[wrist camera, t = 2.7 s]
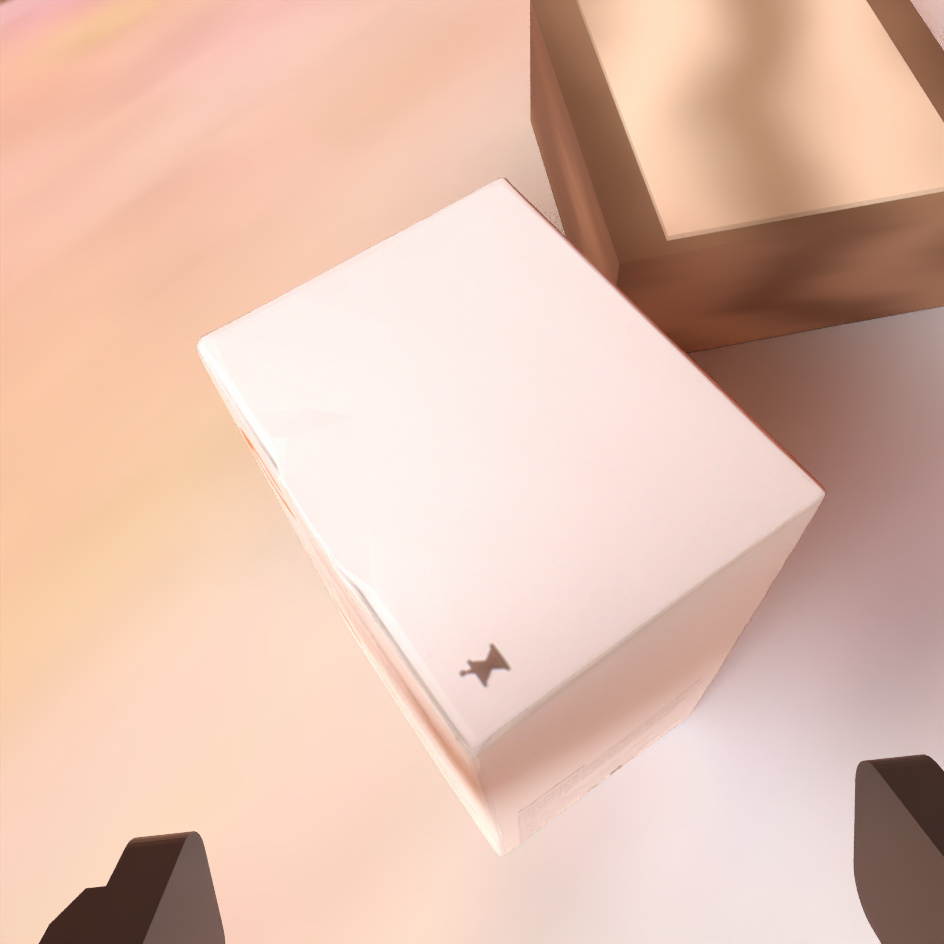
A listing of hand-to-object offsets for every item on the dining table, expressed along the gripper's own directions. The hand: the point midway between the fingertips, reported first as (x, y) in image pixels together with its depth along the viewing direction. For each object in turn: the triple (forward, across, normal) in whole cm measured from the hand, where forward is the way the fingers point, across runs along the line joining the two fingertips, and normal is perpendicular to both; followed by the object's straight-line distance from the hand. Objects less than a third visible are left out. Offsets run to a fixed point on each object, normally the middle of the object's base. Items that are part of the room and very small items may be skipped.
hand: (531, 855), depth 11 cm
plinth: (+24, -10, -7) cm, 27 cm away
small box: (+13, 0, +5) cm, 14 cm away
